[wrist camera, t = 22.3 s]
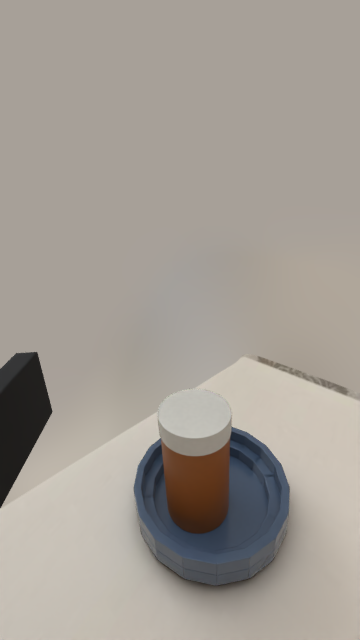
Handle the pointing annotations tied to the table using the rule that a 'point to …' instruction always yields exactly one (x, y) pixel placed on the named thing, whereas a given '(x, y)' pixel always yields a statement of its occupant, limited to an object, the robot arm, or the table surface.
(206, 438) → the vitamin bottle
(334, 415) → the table surface
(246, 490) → the bowl
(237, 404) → the table surface
